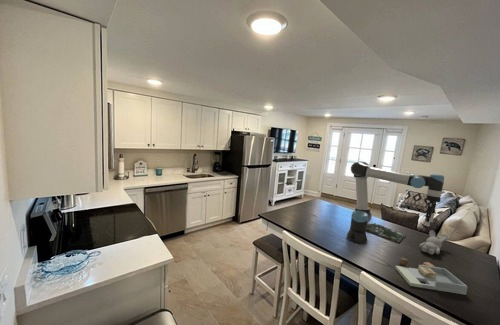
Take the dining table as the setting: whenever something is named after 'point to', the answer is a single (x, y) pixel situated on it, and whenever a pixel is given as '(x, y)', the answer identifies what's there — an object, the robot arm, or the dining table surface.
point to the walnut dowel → (403, 262)
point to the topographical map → (385, 232)
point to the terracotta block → (428, 264)
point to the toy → (433, 243)
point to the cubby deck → (433, 279)
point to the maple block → (427, 272)
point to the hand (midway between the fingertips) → (428, 223)
